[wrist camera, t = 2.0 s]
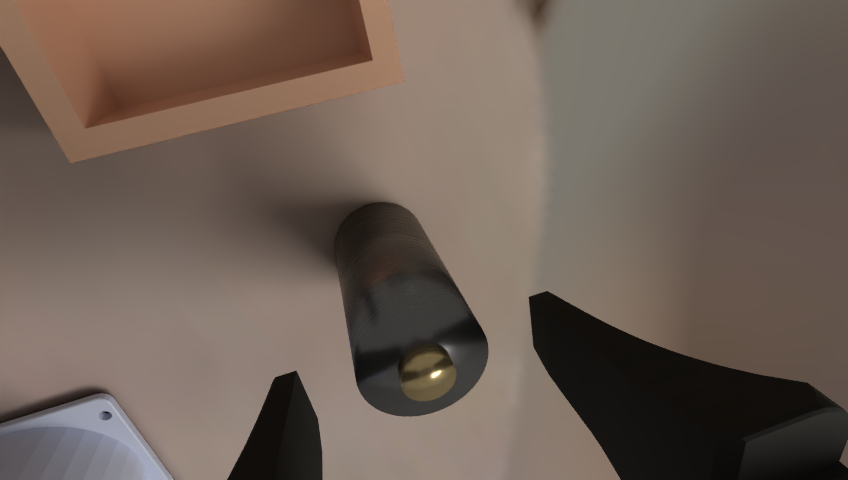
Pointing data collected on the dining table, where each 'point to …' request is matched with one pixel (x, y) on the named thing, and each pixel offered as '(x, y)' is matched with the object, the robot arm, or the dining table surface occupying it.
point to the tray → (188, 63)
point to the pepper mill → (404, 315)
